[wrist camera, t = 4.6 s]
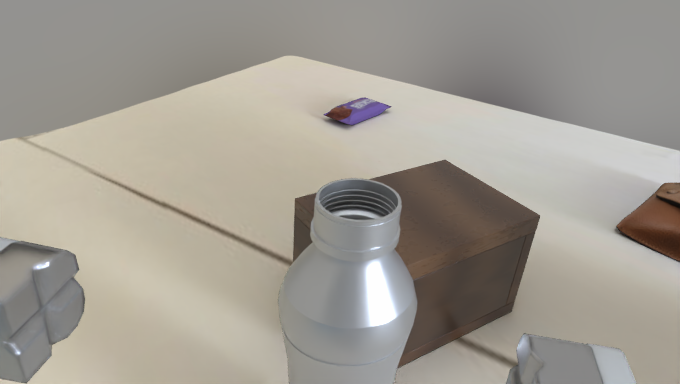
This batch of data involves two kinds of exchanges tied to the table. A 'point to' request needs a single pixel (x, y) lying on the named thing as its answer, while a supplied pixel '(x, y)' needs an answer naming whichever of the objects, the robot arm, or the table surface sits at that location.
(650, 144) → the table surface
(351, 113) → the snack package
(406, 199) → the dark wooden box
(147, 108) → the table surface
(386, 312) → the plastic bottle
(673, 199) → the sunglasses case
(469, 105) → the table surface
